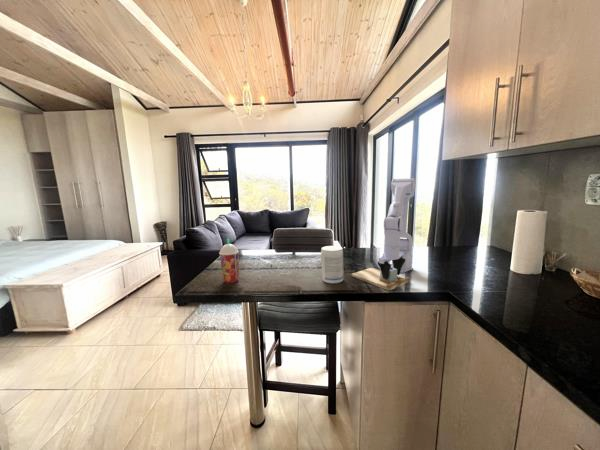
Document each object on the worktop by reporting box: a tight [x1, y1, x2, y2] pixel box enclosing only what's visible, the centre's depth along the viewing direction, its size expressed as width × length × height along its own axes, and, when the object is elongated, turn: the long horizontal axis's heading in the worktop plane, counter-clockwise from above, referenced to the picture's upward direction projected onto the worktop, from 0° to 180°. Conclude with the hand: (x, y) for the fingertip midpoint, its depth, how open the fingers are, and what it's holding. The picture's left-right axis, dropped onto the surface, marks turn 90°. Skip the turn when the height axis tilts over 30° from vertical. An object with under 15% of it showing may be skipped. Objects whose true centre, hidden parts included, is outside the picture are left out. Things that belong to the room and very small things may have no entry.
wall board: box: [351, 267, 411, 292], centre depth 107 cm, size 14×20×2 cm
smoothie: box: [218, 237, 240, 284], centre depth 108 cm, size 8×8×20 cm
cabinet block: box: [379, 266, 398, 282], centre depth 103 cm, size 4×5×6 cm
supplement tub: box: [320, 245, 344, 284], centre depth 107 cm, size 10×10×15 cm
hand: (391, 276), depth 102 cm, fingers open, 7 cm apart
